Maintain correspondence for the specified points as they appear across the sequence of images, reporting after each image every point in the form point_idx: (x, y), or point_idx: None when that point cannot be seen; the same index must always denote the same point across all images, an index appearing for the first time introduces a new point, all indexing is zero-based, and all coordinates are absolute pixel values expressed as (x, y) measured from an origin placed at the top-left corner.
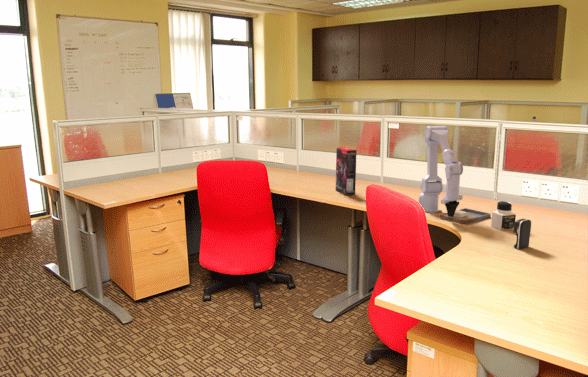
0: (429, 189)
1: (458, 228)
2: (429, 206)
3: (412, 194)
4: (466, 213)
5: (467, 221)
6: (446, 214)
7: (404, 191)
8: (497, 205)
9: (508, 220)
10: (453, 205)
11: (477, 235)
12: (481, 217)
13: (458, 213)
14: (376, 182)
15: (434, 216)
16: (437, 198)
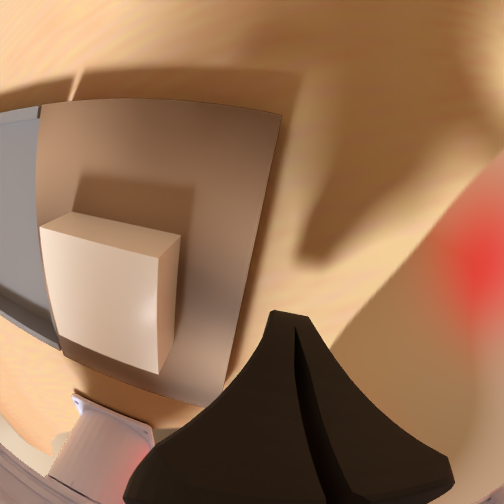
0: None
1: (449, 154)
2: (135, 460)
3: (44, 443)
4: (52, 221)
5: (242, 109)
6: (169, 379)
7: (48, 451)
8: None
9: None
10: (445, 456)
11: (492, 8)
12: (16, 111)
13: (158, 292)
14: None
15: (196, 412)
16: (75, 470)
